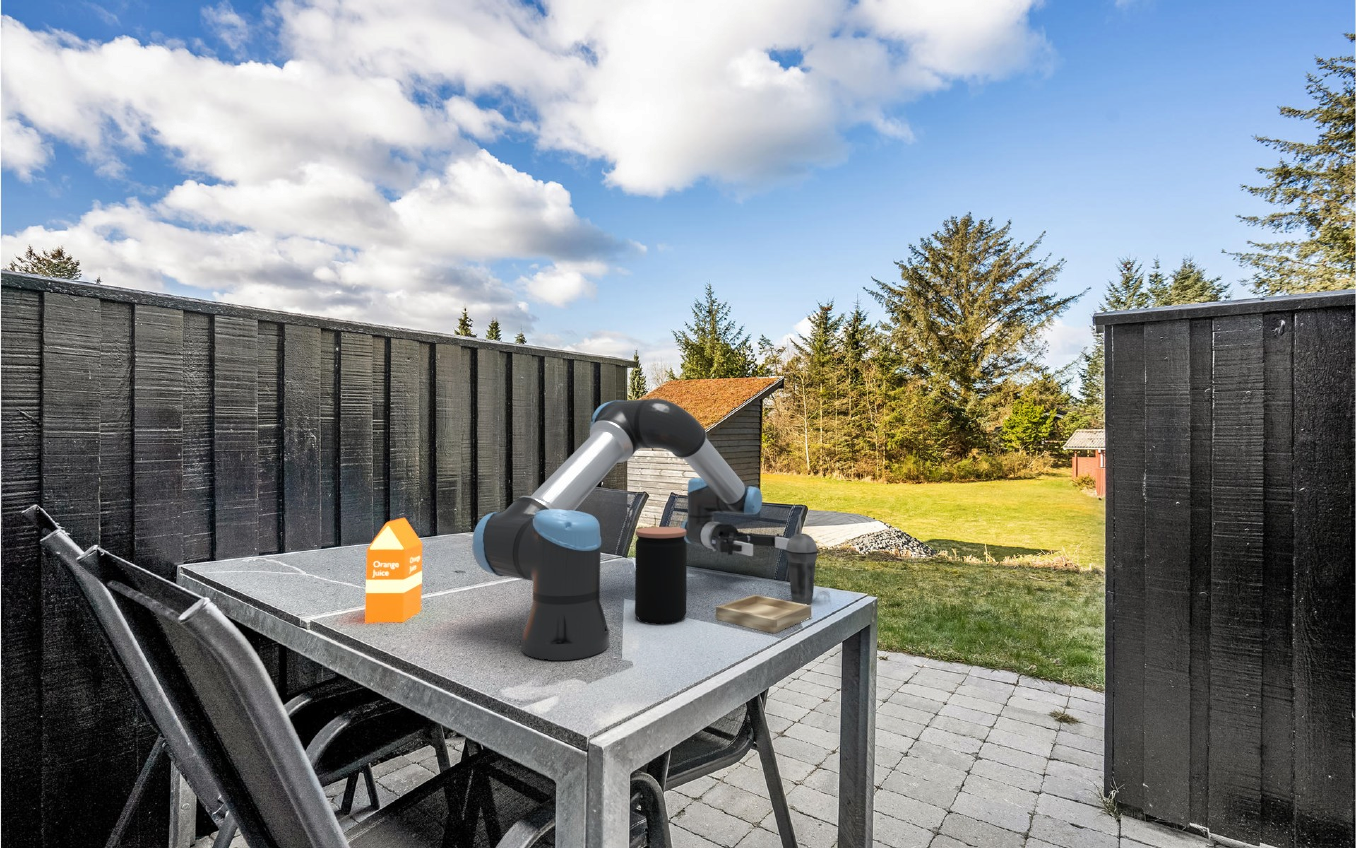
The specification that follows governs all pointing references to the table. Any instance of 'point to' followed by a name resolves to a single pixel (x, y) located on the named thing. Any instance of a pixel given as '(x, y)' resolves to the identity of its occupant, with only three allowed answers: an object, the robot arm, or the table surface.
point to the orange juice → (393, 574)
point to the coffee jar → (660, 575)
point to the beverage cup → (801, 566)
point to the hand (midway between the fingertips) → (773, 547)
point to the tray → (763, 613)
